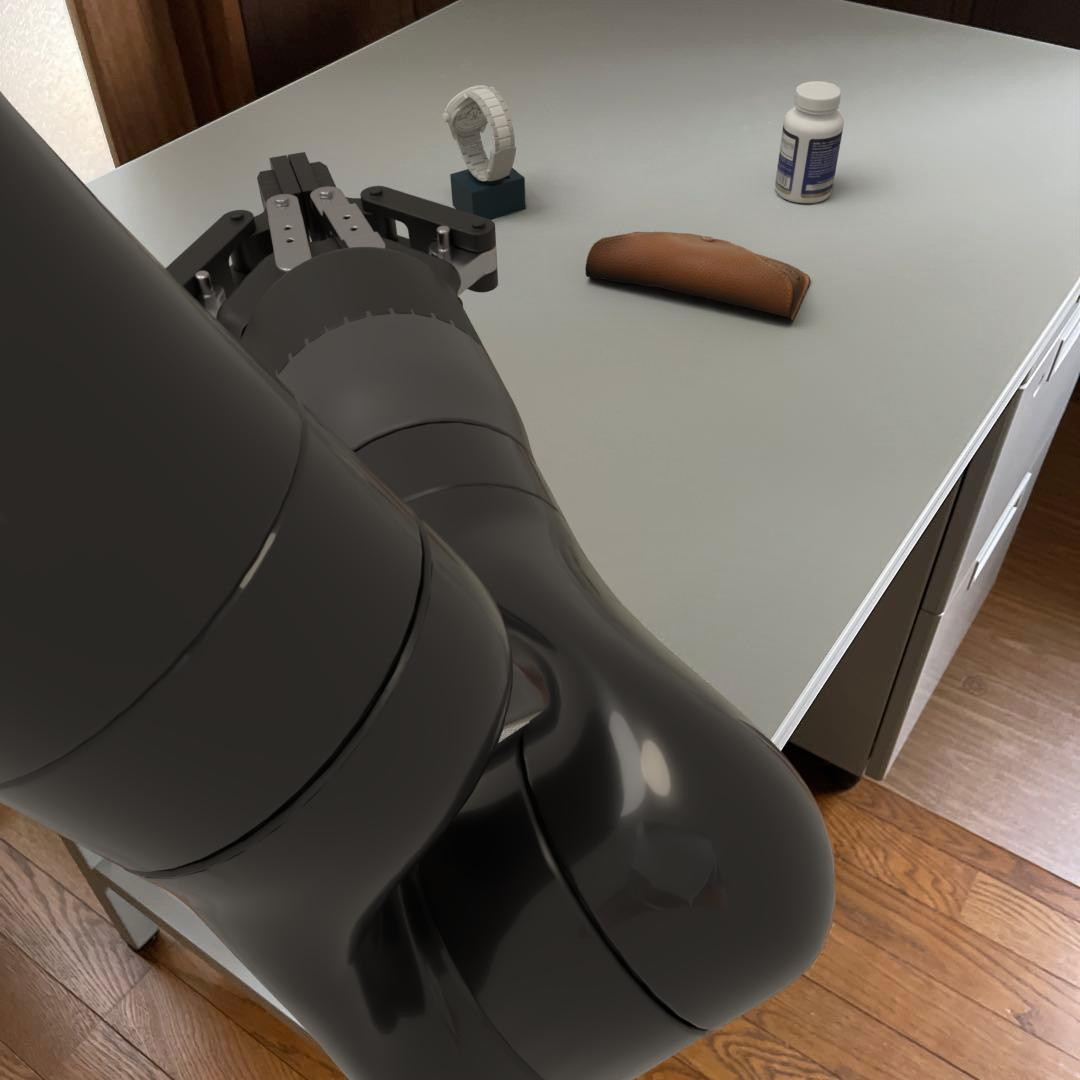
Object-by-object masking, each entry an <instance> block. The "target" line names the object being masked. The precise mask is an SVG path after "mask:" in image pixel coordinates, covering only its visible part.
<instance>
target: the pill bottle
mask: <svg viewBox="0 0 1080 1080" xmlns="http://www.w3.org/2000/svg"><path fill="white" fill-rule="evenodd" d="M841 96H842V90H841V88H840V87H839V86H838V85H837V84H833V83H831V82H827V81H817V80H815V81H806V82H803V83H801V84H799V85H798V86H797V87H796V88H795V94H794V100H793V102H794V103H793V105H794V107H792V108H791V109H790V110H788V111H787V113H786V114H785V116H784V119H783V124H782V130H781V131H782V132H781V139H780V145H779V153H778V159H777V167H776V175H775V184H774V188H775V192H776V193H777V194H778V196H780V197H781V198H782V199H784V200H786V201H789V202H792V203H798V204H816V203H820V202H823V201H825V200H826V199H828V198H829V197H830V195H831V194H832V192H833V188H834V184H835V183H834V182H835V176H836V170H837V165H838V159H839V154H840V148H841V142H842V136H843V132H844V124H845V123H844V117H843V115H842V114H841V112H839V110H838V109H839V107H840V104H841V98H842V97H841Z"/></svg>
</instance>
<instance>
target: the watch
mask: <svg viewBox="0 0 1080 1080" xmlns="http://www.w3.org/2000/svg"><path fill="white" fill-rule="evenodd" d="M441 117H442V121H443V123H447V124H448V127H449V130H450V132H451V136H452V138H453V140H454V141H456V144H457V146H458V150H459V153H460V154H461V159H462V160H463V162H464V164H465V166H466V167H467V168H466V169H463V170H460V171H456V172H453V173H449V177H450V188H451V189H450V190H451V200H452V206H453V208H455V209H458V210H461V211H464V212H468V213H471V214H474V215H477V216H480V217H484V218H487V219H490V220H493V219H496V218H500V217H503V216H506V215H509V214H512V213H516V212H519V211H522V210H525V209H526V208H527V207H526V205H527V204H526V179H525V177H524V175H522V174H521V173H519V171H517V170H516V169H515V168H513V166H514V162H515V160H516V159H515V158H516V152H517V146H516V140H515V138H516V137H515V132H514V124H513V121H512V117H511V114H510V111H509V108H508V106H507V103H506V101H504V98H503V97H502V95H501V93H499V91H497V89H496V88H495V87H494V86H487V85H483V84H481V85H474V86H471V87H467V88H465V89H464V90H462V91H460V92H459V93H457V94H456V95H455V96H453V98H451V100H450V101H449V102H448V103H447V105H446V107H445V108H444V112H443V113H442V115H441ZM487 124H488V126H489V129H490V133H491V136H492V145H493V149H492V150H490V153H489V158H488V155H487V153H486V151H485V147H484V144H483V141H482V136H481V133H484V132H485V130H486V128H487Z"/></svg>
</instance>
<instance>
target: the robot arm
mask: <svg viewBox="0 0 1080 1080" xmlns="http://www.w3.org/2000/svg"><path fill="white" fill-rule="evenodd" d="M269 165H270V169H268V170H262V171H261V170H260V171H259V173H258V175H257V177H256V180H257V185H258V189H259V195H260V198H261V199H260V200H261V203H262V204H261V205H262V208H263V211H262V212H261V213H259V214H257V215H254V213H253V212H251V211H250V210H246V209H235V210H231V211H228V212H226V213H224V214H223V215H222V216H220V217H219V219H217V220H215V222H214V223H213V224H212V225H210V227H209V228H208V229H206V230H205V231H204V232H203V233H202V234H201V235H199V237H197V239H195V241H193V242H192V243H191V244H190V245H189V246H188V247H186V249H184V250H183V252H182V253H180V254H179V255H178V256H177V257H176V258H175V259H174V260H173V261H171V263H170V264H169V265H167V266H166V267H165V266H164V265H163V264H162V263H161V261H159V259H157V257H155V256H154V254H153V253H152V252H150V250H149V249H147V247H146V246H145V245H143V243H141V242H140V241H139V239H138V238H137V237H136V236H135V235H134V234H133V233H132V232H131V231H130V230H129V229H128V228H127V227H126V225H124V223H122V222H121V221H120V220H119V219H118V218H117V217H116V216H115V215H114V214H113V212H112V211H110V210H109V208H108V207H106V206H105V204H104V203H103V202H102V201H101V200H99V198H98V196H96V195H95V194H94V193H93V192H92V190H91V189H90V188H89V187H88V186H87V185H86V184H85V183H84V182H83V181H82V179H80V177H79V176H78V175H77V174H76V173H75V172H74V170H72V169H71V168H70V166H69V165H68V164H67V163H66V162H65V161H64V160H63V159H62V158H61V157H60V155H58V153H57V152H56V151H55V150H54V149H53V148H52V146H50V145H49V144H48V143H47V142H46V140H45V138H43V137H42V136H41V134H39V133H38V132H37V130H35V128H34V127H33V126H32V125H31V124H30V123H29V121H27V120H26V119H25V118H24V116H23V115H22V114H21V113H20V112H19V111H18V110H17V109H16V107H15V106H14V105H13V104H12V103H11V101H9V100H8V98H7V97H6V96H5V95H4V94H3V92H2V91H1V90H0V804H2V805H4V806H6V807H8V808H10V809H12V810H13V811H15V812H17V813H19V814H21V815H23V816H25V817H26V818H29V819H30V820H32V821H34V822H36V823H37V824H39V825H42V826H43V827H45V828H47V829H49V830H50V831H53V832H55V833H57V834H58V835H60V836H62V837H64V838H65V839H67V840H70V841H71V842H73V843H75V844H77V845H79V846H80V847H82V848H84V849H86V850H88V851H89V852H92V853H93V854H96V855H98V856H100V857H101V858H103V859H105V860H107V861H109V862H111V864H114V865H117V867H120V868H122V869H123V870H124V871H126V872H128V873H130V874H133V875H134V876H136V877H138V878H140V879H142V880H144V881H146V882H148V883H150V884H152V885H154V886H156V887H158V888H160V889H163V890H164V891H167V892H169V893H171V894H172V895H174V896H175V897H176V898H178V899H179V900H180V901H181V902H182V903H183V904H185V905H186V906H187V907H188V908H189V909H190V910H191V911H192V912H193V913H194V914H195V915H196V916H197V917H198V918H199V920H201V921H202V922H203V924H204V925H205V926H207V928H208V929H209V930H210V931H211V932H212V934H214V935H215V937H217V939H219V941H220V942H221V943H222V944H223V945H224V946H225V947H226V949H228V950H229V951H230V953H231V954H233V956H234V957H235V958H236V959H237V960H238V961H239V963H241V964H242V965H243V966H244V967H245V968H246V969H247V970H248V971H249V972H250V973H251V974H252V975H253V977H254V978H256V980H257V981H258V982H259V983H260V984H261V985H262V986H263V987H264V988H265V989H266V990H267V991H268V992H269V993H270V995H272V996H273V997H274V998H275V999H276V1000H277V1001H278V1002H279V1004H281V1005H282V1006H283V1008H285V1010H287V1012H288V1013H290V1015H292V1017H293V1018H294V1019H295V1020H296V1021H297V1022H298V1023H299V1024H300V1025H301V1026H302V1028H303V1029H304V1030H305V1031H306V1032H307V1033H308V1034H309V1035H310V1036H311V1037H312V1038H313V1040H314V1041H315V1042H316V1043H317V1044H318V1045H319V1046H320V1047H321V1049H322V1050H323V1051H324V1052H325V1053H326V1055H327V1056H328V1057H329V1058H330V1059H331V1060H332V1062H333V1063H334V1064H335V1065H336V1067H338V1069H339V1070H340V1071H341V1072H342V1073H343V1075H344V1076H345V1077H346V1078H347V1079H348V1080H636V1079H637V1078H639V1077H641V1076H642V1075H644V1074H646V1073H648V1072H649V1071H651V1070H653V1069H654V1068H656V1067H657V1066H659V1065H660V1064H662V1063H664V1062H665V1061H667V1060H669V1059H670V1058H672V1057H673V1056H676V1055H677V1054H678V1053H681V1052H682V1051H684V1050H685V1049H686V1048H688V1047H691V1046H692V1045H693V1044H695V1043H696V1042H698V1041H700V1040H702V1039H703V1038H704V1037H706V1036H708V1035H710V1034H711V1033H713V1032H715V1031H716V1030H718V1029H721V1028H724V1027H725V1026H727V1025H728V1024H730V1023H732V1022H733V1021H735V1020H737V1019H739V1018H740V1017H742V1016H743V1015H745V1014H747V1013H749V1012H750V1011H753V1010H754V1009H755V1008H758V1007H759V1006H760V1005H762V1004H763V1003H766V1002H767V1001H769V1000H771V998H773V997H775V996H776V995H778V994H779V993H781V992H783V991H784V990H786V989H788V988H789V987H790V986H792V985H793V983H795V982H796V981H797V980H798V979H799V978H801V977H802V976H803V975H804V974H806V973H807V972H808V971H809V970H810V969H811V968H812V966H813V965H814V963H815V962H816V961H817V959H818V958H819V956H820V955H821V953H822V952H823V950H824V949H825V947H826V944H827V941H828V939H829V936H830V933H831V930H832V927H833V923H834V917H835V910H836V903H837V872H836V871H837V868H836V867H837V866H836V859H835V856H834V849H833V846H832V841H831V837H830V836H831V835H830V833H829V829H828V826H827V824H826V821H825V818H824V816H823V813H822V810H821V809H820V807H819V805H818V802H817V801H816V799H815V796H814V794H813V793H812V791H811V790H810V788H809V786H808V785H807V783H806V782H805V780H804V779H803V777H802V776H801V774H800V773H799V771H797V769H796V768H795V766H794V765H793V764H792V763H791V761H790V760H789V759H788V758H787V756H786V755H785V754H784V752H783V751H782V750H781V749H779V748H778V746H776V744H775V743H774V742H773V741H772V740H771V738H769V736H768V735H767V734H766V733H765V732H763V730H761V729H760V728H759V727H758V726H757V725H756V724H755V723H754V722H753V721H752V720H751V719H750V718H749V717H748V716H746V714H744V713H743V712H742V711H741V710H740V709H739V708H738V707H737V706H735V705H734V704H733V703H732V702H731V701H729V699H727V698H726V697H725V696H724V695H723V694H721V692H719V690H717V689H716V688H715V687H714V686H712V685H711V684H710V683H709V682H708V681H707V680H706V679H705V678H704V677H702V676H701V675H700V674H699V673H697V672H696V671H695V670H694V669H693V668H691V666H689V665H688V664H687V663H686V662H685V661H683V659H681V658H680V657H679V656H678V655H676V654H675V653H674V652H673V651H672V650H671V649H669V648H668V646H667V645H665V644H664V643H663V642H662V641H660V640H659V639H658V638H657V637H656V636H655V635H654V634H653V633H652V632H651V631H650V630H649V629H648V627H646V626H645V625H644V624H643V623H642V621H640V620H639V619H638V618H637V616H635V615H634V613H632V612H631V611H630V610H629V609H628V608H627V606H625V605H624V603H622V602H621V600H620V599H619V597H617V595H616V594H615V593H614V592H613V590H612V589H611V588H610V587H609V585H608V584H607V583H606V582H605V580H604V579H603V577H602V576H601V575H600V573H599V572H598V571H597V570H596V568H595V567H594V564H592V562H591V561H590V559H589V558H588V556H587V554H586V553H585V552H584V550H583V548H582V547H581V546H580V544H579V542H578V540H577V538H576V536H575V534H574V532H573V530H572V528H571V527H570V525H569V523H568V521H567V519H566V517H565V515H564V513H563V511H562V510H561V508H560V505H559V504H558V502H557V500H556V498H555V496H554V494H553V492H552V491H551V488H550V487H549V485H548V483H547V481H546V479H545V477H544V475H543V474H542V471H541V469H540V468H539V466H538V464H537V461H536V459H535V457H534V454H533V451H532V447H531V444H530V440H529V437H528V433H527V430H526V427H525V425H524V422H523V420H522V418H521V415H520V412H519V411H518V407H517V405H516V404H515V401H514V399H513V398H512V395H510V392H509V390H508V389H507V387H506V385H505V383H504V381H503V379H502V378H501V376H500V374H499V372H498V369H497V368H496V366H495V364H494V363H493V361H492V358H491V357H490V355H489V353H488V351H487V349H486V348H485V346H484V344H483V341H482V339H481V338H480V336H479V335H478V332H477V330H476V329H475V327H474V325H473V324H472V323H473V322H471V320H470V318H469V316H468V313H467V312H466V310H465V308H464V302H463V300H462V299H461V297H459V296H461V294H463V293H464V292H465V291H466V290H469V291H472V292H474V293H488V292H491V291H494V290H496V289H497V287H498V286H499V275H498V254H497V236H496V235H497V234H496V223H495V222H494V221H493V219H487V218H484V217H480V216H477V215H474V214H471V213H468V212H464V211H461V210H458V209H456V208H455V207H452V206H449V205H446V204H441V203H438V202H436V201H433V200H429V199H426V198H422V197H419V196H417V195H413V194H410V193H406V192H404V191H400V190H398V189H394V188H390V187H388V186H384V185H373V186H368V187H366V188H364V189H362V191H361V192H360V193H359V195H360V197H347V196H346V195H345V194H344V192H343V191H342V190H341V188H339V187H337V186H336V183H335V180H334V178H333V177H332V174H331V171H330V170H329V167H328V165H326V164H324V163H323V162H321V161H313V162H310V160H309V158H308V155H307V154H306V151H302V152H296V153H289V154H283V155H278V156H273V157H269ZM397 222H400V223H402V224H403V225H404V226H405V227H406V230H407V234H408V237H405V236H402V235H399V234H398V229H397ZM230 260H231V264H230ZM522 724H524V725H522ZM519 725H522V726H521V727H519V728H518V729H517V730H515V731H514V732H512V733H511V734H509V735H507V736H506V737H504V738H503V739H502V740H501V737H502V735H503V731H505V730H509V729H512V728H514V727H517V726H519Z"/></svg>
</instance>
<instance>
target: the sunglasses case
mask: <svg viewBox="0 0 1080 1080" xmlns="http://www.w3.org/2000/svg"><path fill="white" fill-rule="evenodd" d="M584 269H585V276H586V278H594V279H599V280H606V281H613V282H621V283H625V284H637V285H640V286H643V287H644V286H645V287H654V288H655V287H657V288H662V289H664V290H668V291H673V292H677V293H681V294H685V295H688V296H694V297H701V298H706V299H711V300H714V301H716V302H720V303H721V302H722V303H725V304H728V305H729V304H730V305H735V306H740V307H744V308H749V309H753V310H756V311H761V312H764V313H765V312H766V313H770V314H773V315H777V316H781V317H787V319H788V320H790V321H792V322H794V320H795V318H796V317H797V315H798V312H799V310H800V308H801V306H802V303H803V301H804V299H805V297H806V294H807V291H808V289H809V287H810V284H811V276H810V275H809V274H808V273H805V272H804V271H802V270H801V269H799V268H797V267H796V266H794V265H791V264H789V263H787V262H784V261H781V260H778V259H775V258H772V257H768V256H766V255H763V254H760V253H759V254H758V253H755V252H753V251H752V250H750V249H747V248H745V247H743V246H741V245H738V244H735V243H732V242H731V241H728V240H724V239H719V238H714V237H711V236H706V235H705V236H704V235H700V234H696V233H686V232H670V231H633V232H629V233H628V232H627V233H623V234H617V235H611V236H606V237H605V236H604V237H602V238H600V239H598V240H597V241H596V242H594V243H593V244H592V246H591V248H590V250H589V251H588V254H587V257H586V262H585V268H584Z"/></svg>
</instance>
